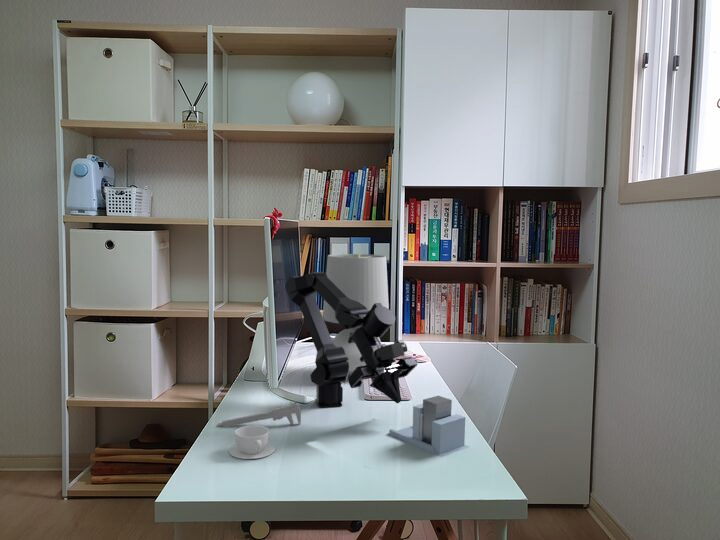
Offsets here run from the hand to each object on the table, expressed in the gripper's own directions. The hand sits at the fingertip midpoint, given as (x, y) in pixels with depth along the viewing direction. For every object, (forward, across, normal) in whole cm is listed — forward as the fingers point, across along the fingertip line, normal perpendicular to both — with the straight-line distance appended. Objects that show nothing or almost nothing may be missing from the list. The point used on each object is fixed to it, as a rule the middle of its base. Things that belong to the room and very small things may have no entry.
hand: (399, 402), depth 141 cm
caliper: (-12, -24, +23) cm, 35 cm away
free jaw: (+11, 0, -2) cm, 11 cm away
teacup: (-2, -33, +14) cm, 36 cm away
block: (+13, 0, -4) cm, 14 cm away
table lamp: (-26, +24, +38) cm, 52 cm away
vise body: (+12, 0, -2) cm, 13 cm away
